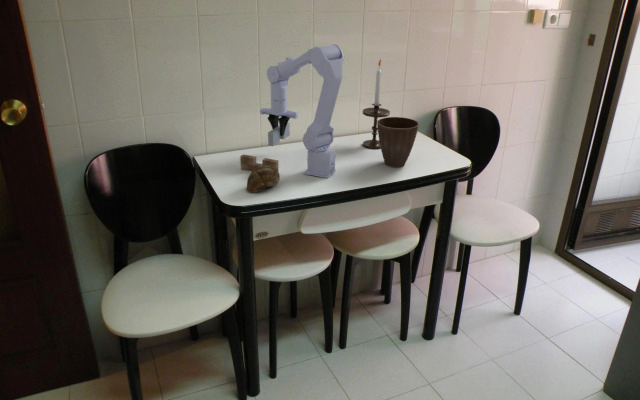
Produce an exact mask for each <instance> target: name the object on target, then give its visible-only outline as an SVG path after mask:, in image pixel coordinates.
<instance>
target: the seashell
mask: <svg viewBox="0 0 640 400" xmlns="http://www.w3.org/2000/svg"><path fill="white" fill-rule="evenodd" d="M280 179H281V175H280V172H278V171H277V169H275V168H274V167H272V166H266V165H265V166H259V167H257V168H256V169H254V170H253V171H250V174H249V175H248V177H247V180H246V181H247V182H246V189H245V190H246V191H247V192H250V193H257V192H261V191H263V190H265V189H266V188H272V187H275V186H277V185H278V184H279V182H280Z"/></svg>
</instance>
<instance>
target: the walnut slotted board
mask: <svg viewBox="0 0 640 400" xmlns="http://www.w3.org/2000/svg"><path fill="white" fill-rule="evenodd" d="M239 157H240V159H239V160H240V170H244V171H248V172H252V171H253V170H254V169H256V168H257V167H259V166H265V165H266V166H272V167H274V168H275V169H277V171H278V172H279V159H272V158H267V157H265V158H263V159H262V161H261V162H262V163H258V162H257V156H255V155H249V154H241V155H240V156H239ZM279 173H280V172H279Z"/></svg>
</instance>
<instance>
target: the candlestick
mask: <svg viewBox="0 0 640 400" xmlns="http://www.w3.org/2000/svg"><path fill="white" fill-rule="evenodd" d="M381 62H382V60H381V59H379V61H378V68H377V70H376V73H375V74H376V75H375V89H374V91H375V93H374V103H372V104H371V105H372V106H373V107H367V108H364V109H362V114H363V116H366V117H369V118H373V125H372V126H371V130H372V132H371V135H372V139H366V140H363V142H362V146H363V147H364V148H365V149H368V150H369V149H371V150H381V147H380V142H379V139H377V135H378V125H377V121H378V119H379V118H387V117H390V114H391V111H390V110H389V109H387V108H382V107H381V106H382V104H381V103H380V99H381V98H380V97H381V96H380V95H381V83H382V70H381Z"/></svg>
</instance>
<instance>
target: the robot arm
mask: <svg viewBox="0 0 640 400" xmlns="http://www.w3.org/2000/svg"><path fill="white" fill-rule="evenodd" d="M344 59H345V55H344V52H343V50H342V48H341V47H340V46H339V45H338V44H330V45H325V46H314V47H312V48H309V49H308V50H307V51H305V52H303V53H302V54H301V55H299V56H298V57H294V56H293V57H292V56H287V57H285V60H283V61H279V62H277V65H270V66H269V67H268V68H267V69H266V77H267V80H268V81H269V83H270V108H268V107H267V108H266V107H265V108H264V107H261V108H260V109H259V113H260V115H268V117H267V120H268V122H269V124H270V127H271V128H272V129H271V130H273V129H274V128H276V127H278V126H280V136H283V135H284V133H285V129H286V126H287V123H289V122H290V119H294V120H296V119H298V118H299V112H297V111H293V110H288V109H287V107H288V106H287V105H288V103H287V96H288V95H287V87H288V85H289V83H288V81H289V80H290V78H291V77H293V76H295V75H297V74H298V73H300V72H301V68H302V67H304V66H307V65H309V64H311V65H312V67H313V68H314V69H315V71H316V72H317V73H318V74H319V76H320V77H322V78H323V82H322V85H321V91H320V94H319V99H318V102H317V103H318V104H317V107H316V111H315V115H314V119H313V122H312V123H311V124H310V125H309V126H308V127H307V129H306V131H305V133H303V137H302V142H303V146H304V147H305V149H306V150H307V169H305V170H304V171H303V172H302V173H303V175H307V176H308V175H309V176H313V177H320V178H325V179H328V178H330V177H331V175H333V174H334V172H336V152H335V150H331V149H330V147H331V146H330V145H332V144H333V142H334V130H335V129H334V127H333V126H332V124H331V121H332V117H333V113H334V111H335V110H334V109H335V105H336V102H337V100H338V99H337V98H338V95H339V90H340V87H341V83H342V81H343V80H342V79H343V64H344Z"/></svg>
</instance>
